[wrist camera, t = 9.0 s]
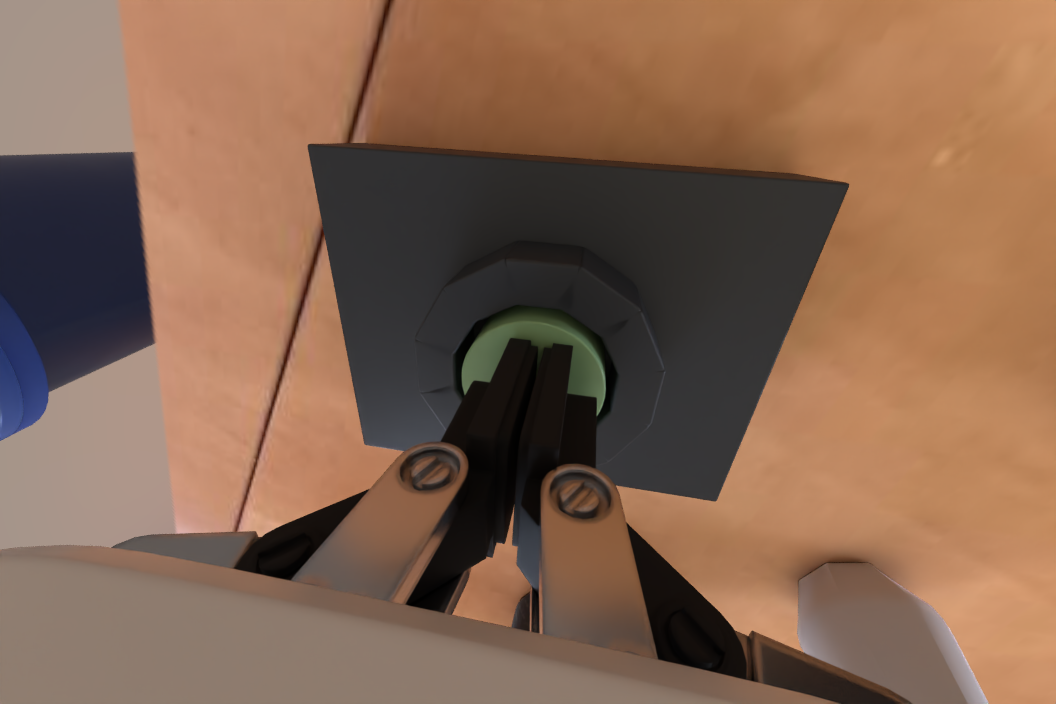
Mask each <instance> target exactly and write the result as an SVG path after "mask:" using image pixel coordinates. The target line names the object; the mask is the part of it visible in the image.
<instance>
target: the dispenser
mask: <svg viewBox="0 0 1056 704" xmlns="http://www.w3.org/2000/svg"><path fill="white" fill-rule="evenodd" d="M308 151H309V156H310V161H311V167H312V172H313V177H314V182H315V188H316V193H317V198H318V203H319V208H320V214H321V219H322V224H323V229H324V235H325V240H326V245H327V250H328V256H329V261H330V266H331V271H332V276H333V282H334V287H335V292H336V297H337V303H338V308H339V313H340V318H341V324H342V329H343V334H344V339H345V345H346V350H347V355H348V360H349V365H350V371H351V376H352V381H353V386H354V392H355V397H356V402H357V407H358V413H359V418H360V423H361V428H362V433H363V439H364V444H365V445H369V446H375V447H382V448H388V449H394V450H400V451H405V450H407V449H409V448H411V447H413V446H415V445H418V444H421V443H425V442H434V441H439V442H440V441H441V439H442V438H443V436H444V434H445V432H446V430H447V428H448V426H449V424H450V423H451V421H452V419H453V417H454V415H455V413H456V411H457V409H458V408H459V406H460V404H461V402H462V400H463V398H464V396H465V394H464V390H463V386H462V367H463V362H464V359H465V357H466V354H467V352H468V351H469V349H470V347H471V346H472V344H473V342H474V341H475V339H476V338H477V336H478V334H479V333H480V331H481V329H482V328H483V326H484V325H485V323H486V321H487V320H488V318H489V317H490V316H491V315H493V314H496V313H498V312H501V311H503V310H505V309H508V308H510V307H512V306H515V305H523V306H532V307H540V308H549V309H558V310H563V311H564V312H566V313H567V314H568V315H570V316H571V317H573V318H574V319H576V320H577V321H579V322H580V323H581V324H583V325H584V326H586V327H587V328H589V329H590V330H592V331H593V332H595V333H596V334H597V335H599V336H600V337H601V338H602V340H603V343H604V350H605V382H606V391H605V398H604V402H603V406H602V408H601V410H600V412H599V414H598V415H597V431H596V469H598V470H600V471H601V472H603V473H604V474H605V475H607V476H608V477H609V478H610V479H611V480H612V482H613V483H614V484H615V485H617V486H623V487H629V488H635V489H641V490H648V491H654V492H660V493H666V494H672V495H679V496H685V497H691V498H697V499H703V500H710V501H717V499H718V496H719V494H720V491H721V489H722V487H723V484H724V482H725V480H726V477H727V475H728V472H729V470H730V468H731V465H732V463H733V461H734V458H735V456H736V453H737V451H738V449H739V446H740V444H741V442H742V439H743V437H744V434H745V432H746V430H747V427H748V425H749V423H750V420H751V418H752V415H753V413H754V411H755V408H756V406H757V404H758V401H759V399H760V396H761V394H762V392H763V389H764V387H765V385H766V382H767V380H768V377H769V375H770V373H771V370H772V368H773V366H774V363H775V361H776V358H777V356H778V354H779V351H780V349H781V347H782V344H783V342H784V339H785V337H786V335H787V332H788V330H789V328H790V325H791V323H792V320H793V318H794V316H795V313H796V311H797V309H798V306H799V304H800V301H801V299H802V297H803V294H804V292H805V290H806V287H807V285H808V282H809V280H810V278H811V275H812V273H813V271H814V268H815V266H816V263H817V261H818V259H819V256H820V254H821V252H822V249H823V247H824V244H825V242H826V240H827V237H828V235H829V233H830V230H831V228H832V225H833V223H834V221H835V218H836V216H837V214H838V211H839V209H840V206H841V204H842V202H843V199H844V197H845V195H846V192H847V190H848V187H849V184H848V183H844V182H839V181H833V180H827V179H822V178H816V177H810V176H804V175H799V174H790V173H776V172H762V171H748V170H734V169H720V168H706V167H692V166H678V165H664V164H650V163H636V162H622V161H607V160H593V159H579V158H565V157H551V156H537V155H523V154H509V153H495V152H481V151H467V150H453V149H439V148H424V147H410V146H396V145H382V144H368V143H343V144H309V145H308Z"/></svg>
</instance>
